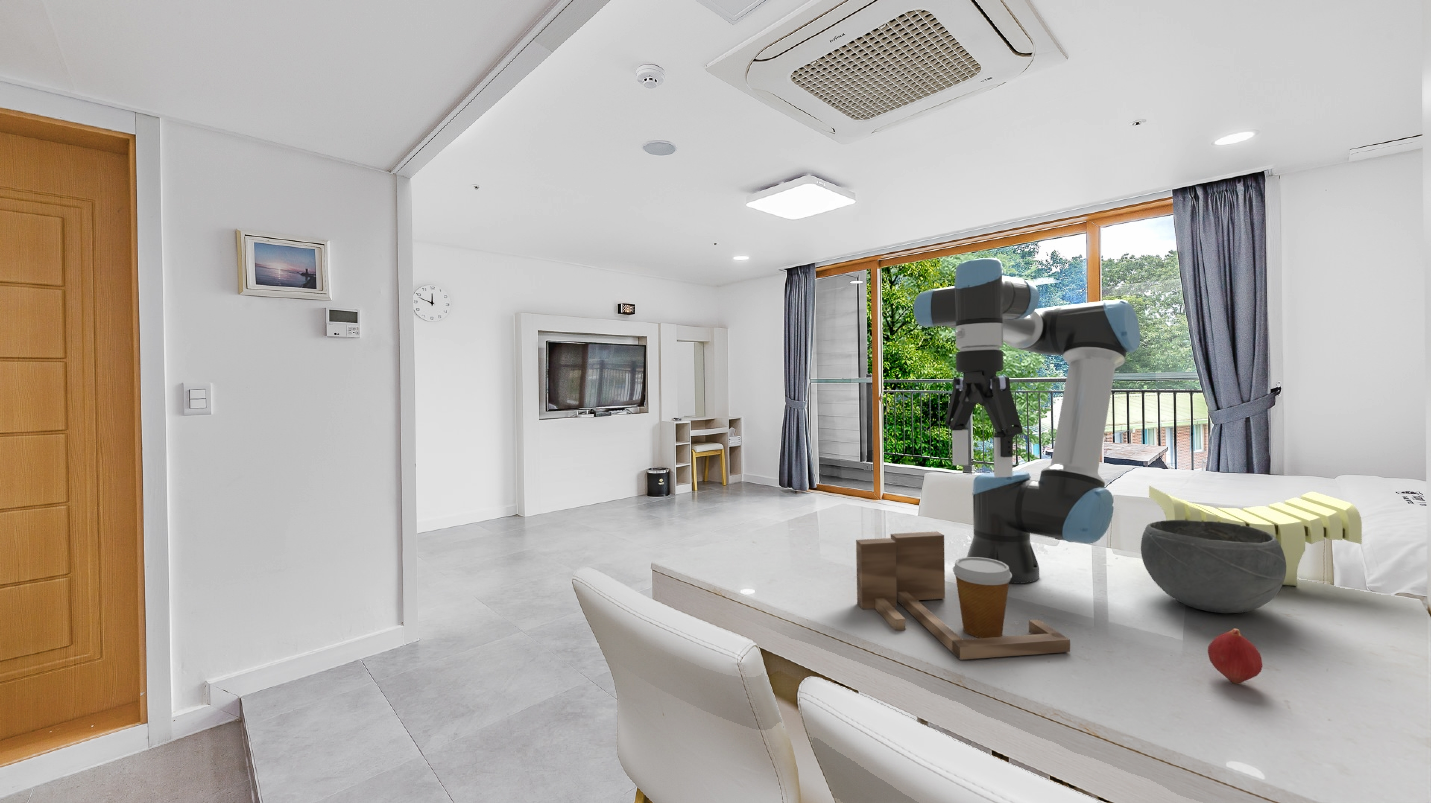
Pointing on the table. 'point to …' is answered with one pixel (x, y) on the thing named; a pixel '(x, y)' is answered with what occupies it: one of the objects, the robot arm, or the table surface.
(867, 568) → the wooden mallet
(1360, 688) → the table surface
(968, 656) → the bent wooden rail
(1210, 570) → the bowl
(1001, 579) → the disposable coffee cup
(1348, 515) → the slatted curved stool
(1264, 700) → the table surface
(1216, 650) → the onion
